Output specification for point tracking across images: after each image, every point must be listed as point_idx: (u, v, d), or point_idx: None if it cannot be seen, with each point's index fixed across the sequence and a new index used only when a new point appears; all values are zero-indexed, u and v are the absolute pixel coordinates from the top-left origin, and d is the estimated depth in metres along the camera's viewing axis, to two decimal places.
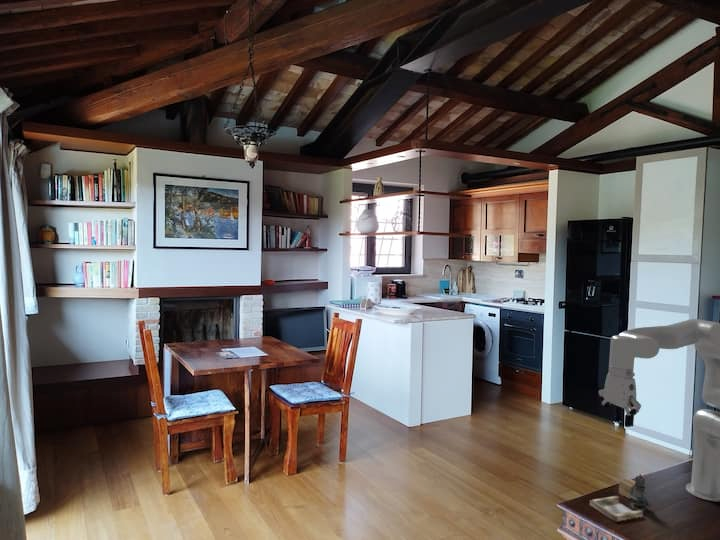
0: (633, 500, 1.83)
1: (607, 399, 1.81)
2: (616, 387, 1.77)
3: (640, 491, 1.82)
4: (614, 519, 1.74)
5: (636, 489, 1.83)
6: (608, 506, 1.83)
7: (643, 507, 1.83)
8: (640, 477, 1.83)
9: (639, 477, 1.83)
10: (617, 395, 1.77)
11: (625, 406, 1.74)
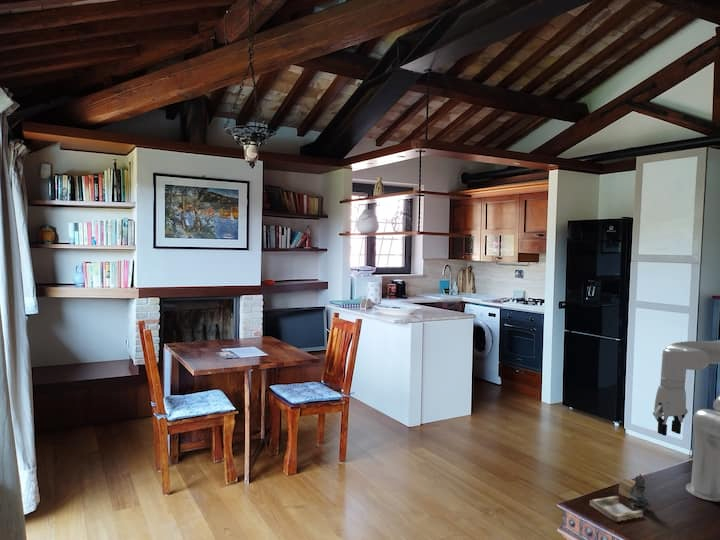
0: (633, 500, 1.83)
1: (669, 414, 1.83)
2: (680, 399, 1.84)
3: (640, 491, 1.82)
4: (614, 519, 1.74)
5: (636, 489, 1.83)
6: (608, 506, 1.83)
7: (643, 507, 1.83)
8: (640, 477, 1.83)
9: (639, 477, 1.83)
10: (680, 406, 1.84)
11: (684, 412, 1.86)
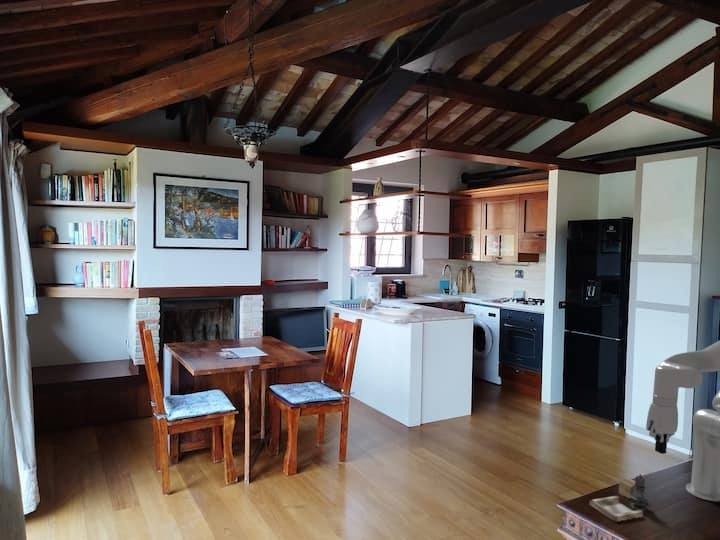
0: (633, 500, 1.83)
1: (661, 432, 1.83)
2: (672, 416, 1.83)
3: (640, 491, 1.82)
4: (614, 519, 1.74)
5: (636, 489, 1.83)
6: (608, 506, 1.83)
7: (643, 507, 1.83)
8: (640, 477, 1.83)
9: (639, 477, 1.83)
10: (672, 424, 1.84)
11: (676, 430, 1.85)
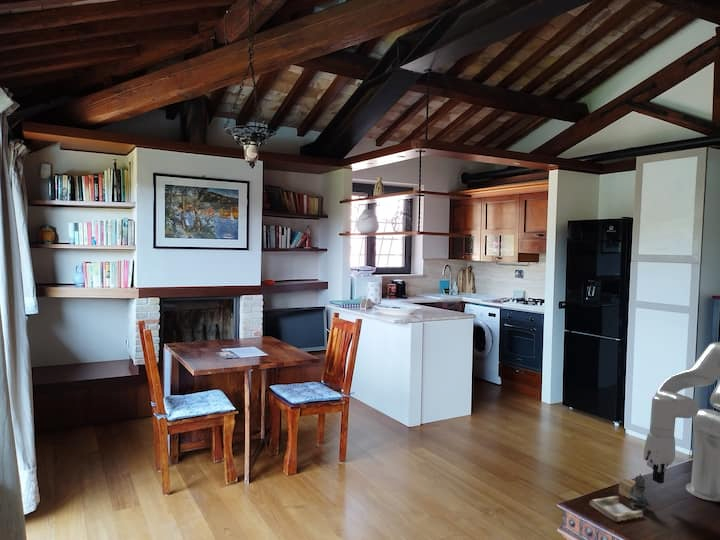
0: (633, 500, 1.83)
1: (658, 462, 1.83)
2: (669, 447, 1.84)
3: (640, 491, 1.82)
4: (614, 519, 1.74)
5: (636, 489, 1.83)
6: (608, 506, 1.83)
7: (643, 507, 1.83)
8: (640, 477, 1.83)
9: (639, 477, 1.83)
10: (669, 454, 1.84)
11: (673, 460, 1.86)
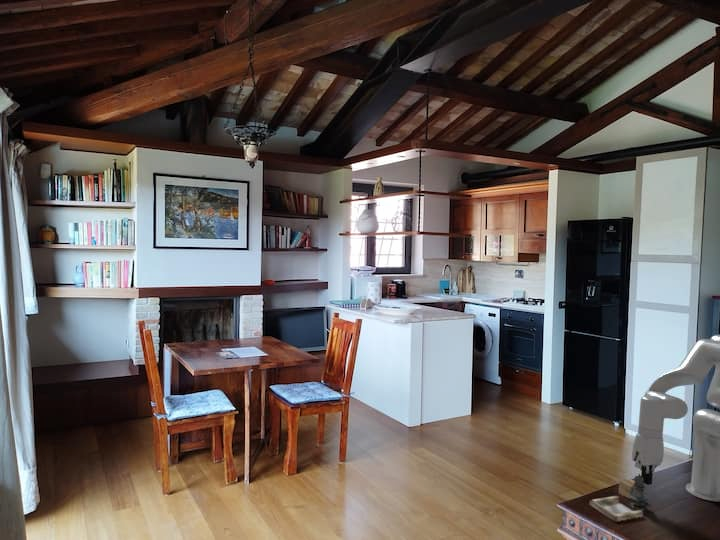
0: (633, 500, 1.83)
1: (646, 463, 1.81)
2: (657, 448, 1.82)
3: (639, 491, 1.82)
4: (614, 519, 1.74)
5: (636, 489, 1.83)
6: (608, 506, 1.83)
7: (643, 506, 1.83)
8: (639, 477, 1.83)
9: (638, 477, 1.83)
10: (657, 455, 1.82)
11: None
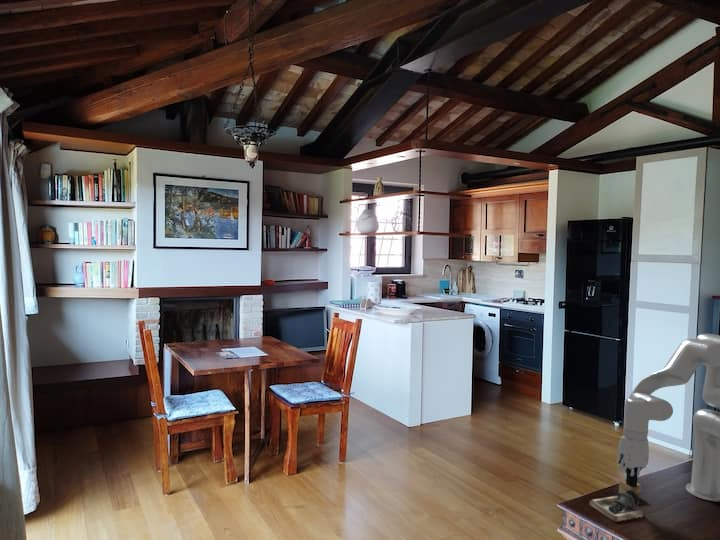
0: None
1: (631, 466, 1.79)
2: (642, 450, 1.80)
3: (623, 508, 1.79)
4: (614, 519, 1.74)
5: None
6: (608, 506, 1.83)
7: (635, 497, 1.81)
8: (612, 512, 1.78)
9: None
10: (642, 457, 1.80)
11: (647, 463, 1.82)
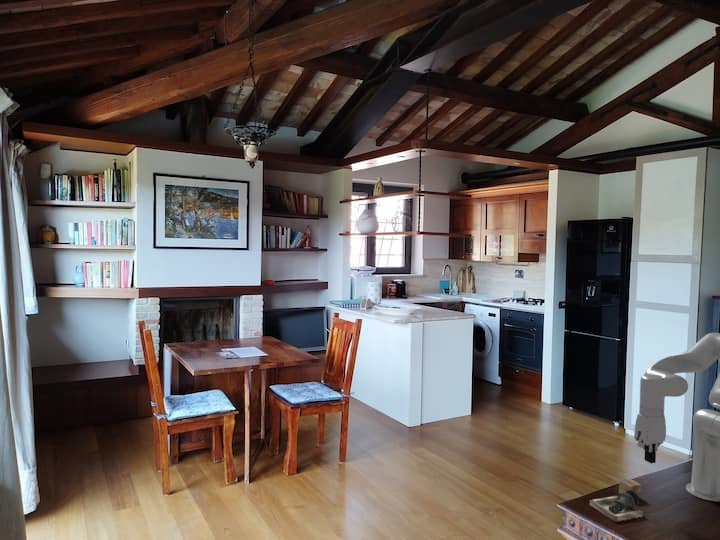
0: None
1: (649, 442, 1.81)
2: (659, 426, 1.82)
3: (623, 508, 1.79)
4: (614, 519, 1.74)
5: None
6: (608, 506, 1.83)
7: (635, 497, 1.81)
8: (612, 512, 1.78)
9: None
10: (660, 433, 1.82)
11: (664, 439, 1.84)
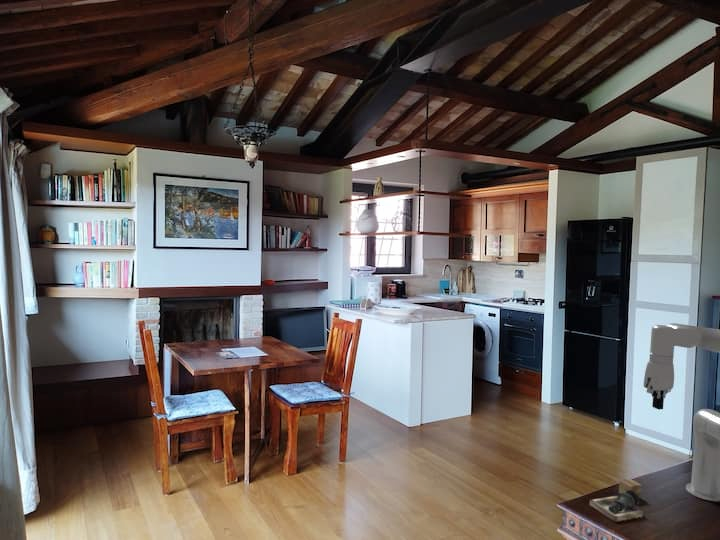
0: None
1: (658, 388, 1.90)
2: (668, 373, 1.91)
3: (623, 508, 1.79)
4: (614, 519, 1.74)
5: None
6: (608, 506, 1.83)
7: (635, 497, 1.81)
8: (612, 512, 1.78)
9: None
10: (668, 380, 1.91)
11: (672, 387, 1.93)
